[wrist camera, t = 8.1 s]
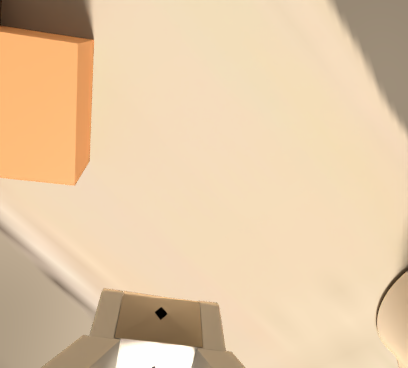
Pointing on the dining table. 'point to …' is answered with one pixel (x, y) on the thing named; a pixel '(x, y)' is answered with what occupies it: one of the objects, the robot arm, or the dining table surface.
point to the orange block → (44, 105)
